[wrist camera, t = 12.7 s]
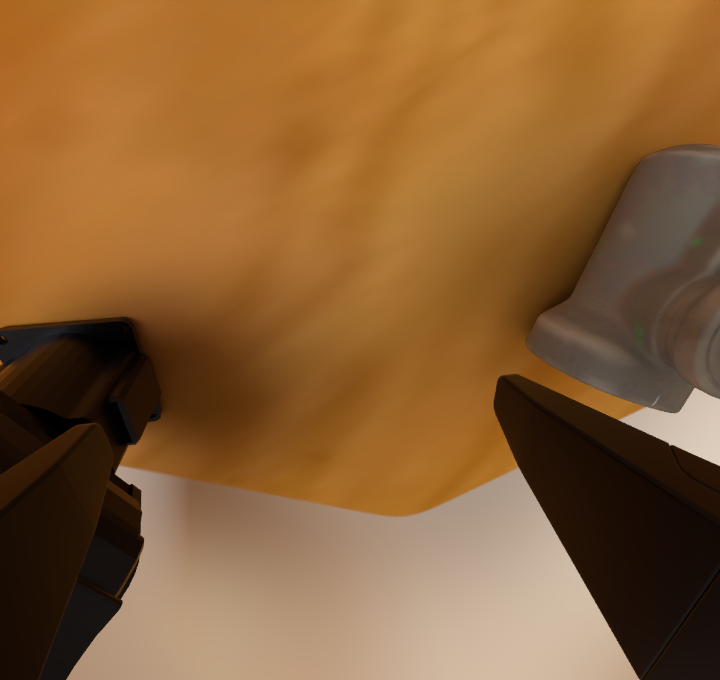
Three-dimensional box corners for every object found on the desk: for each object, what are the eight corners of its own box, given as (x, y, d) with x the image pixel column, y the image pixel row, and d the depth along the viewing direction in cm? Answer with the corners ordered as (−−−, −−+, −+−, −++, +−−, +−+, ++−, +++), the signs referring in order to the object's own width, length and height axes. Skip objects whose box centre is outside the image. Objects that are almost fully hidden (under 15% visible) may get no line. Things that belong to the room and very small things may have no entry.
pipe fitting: (599, 368, 27) (757, 467, 18) (498, 335, 25) (612, 425, 16) (705, 190, 23) (975, 193, 14) (595, 137, 22) (819, 98, 12)
